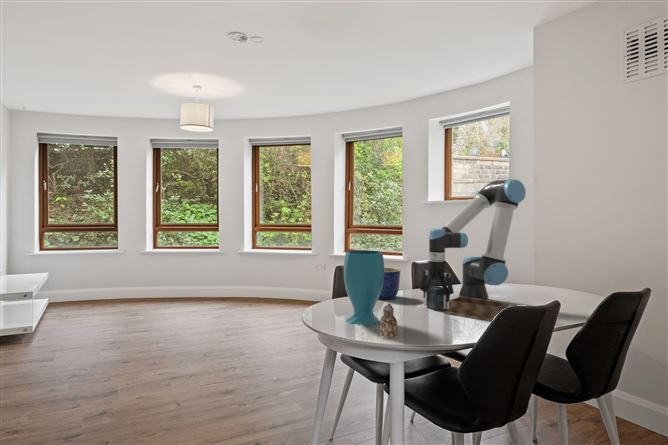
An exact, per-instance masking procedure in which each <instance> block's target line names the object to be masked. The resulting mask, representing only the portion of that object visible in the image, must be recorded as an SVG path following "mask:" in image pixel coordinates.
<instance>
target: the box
mask: <svg viewBox="0 0 668 445" xmlns="http://www.w3.org/2000/svg"><path fill="white" fill-rule="evenodd" d="M444 295H445V292H444V290H443V287H442V286H438V285H430V286H429V287H428V288H427V306H426V308H428V309H431V310H433V311H436V312H437V311H446V309H444Z"/></svg>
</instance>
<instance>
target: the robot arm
mask: <svg viewBox="0 0 668 445" xmlns="http://www.w3.org/2000/svg"><path fill="white" fill-rule="evenodd" d="M526 194H527V190H526V187H525V185H524V184H523V182H522V181H520V180H518V179H510V178H509V179H501V180H499V179H497V180H493V181H491V182H489V183H488V184H486V185H485V186H484V187H482V188H481V189H480V190H479V191H478V192H477V193H475V195H474V198H473V199H472V200H470V201H469V203H467V205H465V206H464V207H463V208H462V209H461V210H460V211H458V213H457V214H456V215H454V216H453V217H452V218H451V219H450V220H449V221H448V222H447V223H446V224H445V225H443V226H442V227H441V228H431V229H430V230H429V232H428V233H429V234H428V235H429V237H428V239H429V240H428V241H429V242H428V247H429V249H428V259H429V261H428V270H423V271H422V279H421V283H420V286H419V290H420V291H422V292H423V299H424V306H426V307H427V288H428V287H429V286H432V283H433V282H434V281H435V280H436V281H438V282H439V283H440V285H441V287H442V288H443V290H444V292H445V295H444V309H445V310H446V309H449V300H451V297H450V296H451V295H452V294H453V295H454V294H455V293H454V292H455V291H454V288H453V284H452V282H453V281H452V278H451V276H452V273H451V272H450V273H448V272H446V271H445V269H446V262H445V261H446V249H461V248H462V249H463V248H466V247H467V246H468V244H469V238H468V235H467V234H466V232H461V231H462V230H463V229H464V228H465V227H466V226H468V225H469V223H470V222H472V221H473V220H474V219H475V218H476V217H478V215H480V213H482V211H484V209H488V208H490V207H491V206H492V205H494V207H495V211H494V215H493V220H492V223H491V224H492V225H491V228H490V233H489V238H488V240H487V246H486V251H485V253H484V254H482V255H481V256H468V257H467V256H466V257H463V259H462V285H461V288H460V291H459V293H458V297H460V296H461V297H468V298H475V299H482V300H489V294H488V291H487V287H486V285H490V286H500V285H502V284H503V283H505V281H506V280H507V278H508V276H509V269H508V267H507V265H506V261H507V260H506V258H505V251H506V248H507V242H508V238H509V237H508V236H509V234H510V233H509V232H510V228H511V225H512V220H513V214H514V211H516V210H517V209H518V208H519V203H521V202H522V201H524V200H525V198H526ZM428 276H429V278H428ZM444 277H445V278H444ZM427 279H428V280H427Z"/></svg>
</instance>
